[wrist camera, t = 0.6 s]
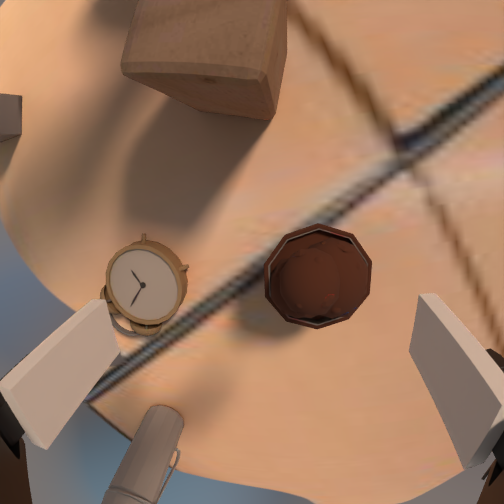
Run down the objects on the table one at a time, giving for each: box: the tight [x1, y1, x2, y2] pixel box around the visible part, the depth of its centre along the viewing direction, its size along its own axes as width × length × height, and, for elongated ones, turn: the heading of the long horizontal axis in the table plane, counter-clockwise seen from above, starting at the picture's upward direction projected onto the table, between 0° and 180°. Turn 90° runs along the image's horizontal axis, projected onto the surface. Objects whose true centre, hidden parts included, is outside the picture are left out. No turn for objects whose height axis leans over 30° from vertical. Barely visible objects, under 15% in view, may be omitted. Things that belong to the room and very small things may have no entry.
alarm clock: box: [100, 234, 189, 336], centre depth 42 cm, size 11×5×15 cm
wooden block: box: [121, 0, 287, 120], centre depth 25 cm, size 10×10×20 cm
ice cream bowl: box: [264, 223, 372, 329], centre depth 32 cm, size 11×11×15 cm
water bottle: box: [101, 405, 184, 504], centre depth 39 cm, size 9×8×25 cm
